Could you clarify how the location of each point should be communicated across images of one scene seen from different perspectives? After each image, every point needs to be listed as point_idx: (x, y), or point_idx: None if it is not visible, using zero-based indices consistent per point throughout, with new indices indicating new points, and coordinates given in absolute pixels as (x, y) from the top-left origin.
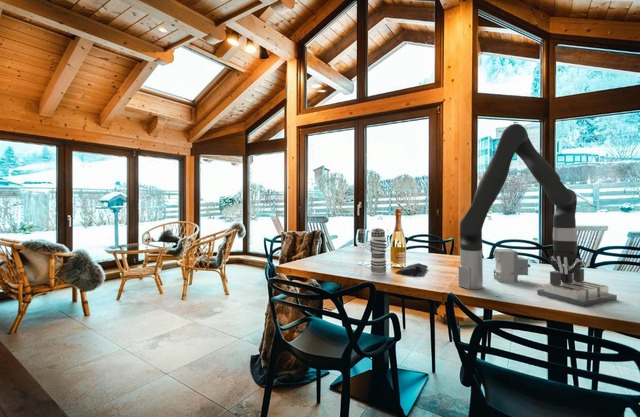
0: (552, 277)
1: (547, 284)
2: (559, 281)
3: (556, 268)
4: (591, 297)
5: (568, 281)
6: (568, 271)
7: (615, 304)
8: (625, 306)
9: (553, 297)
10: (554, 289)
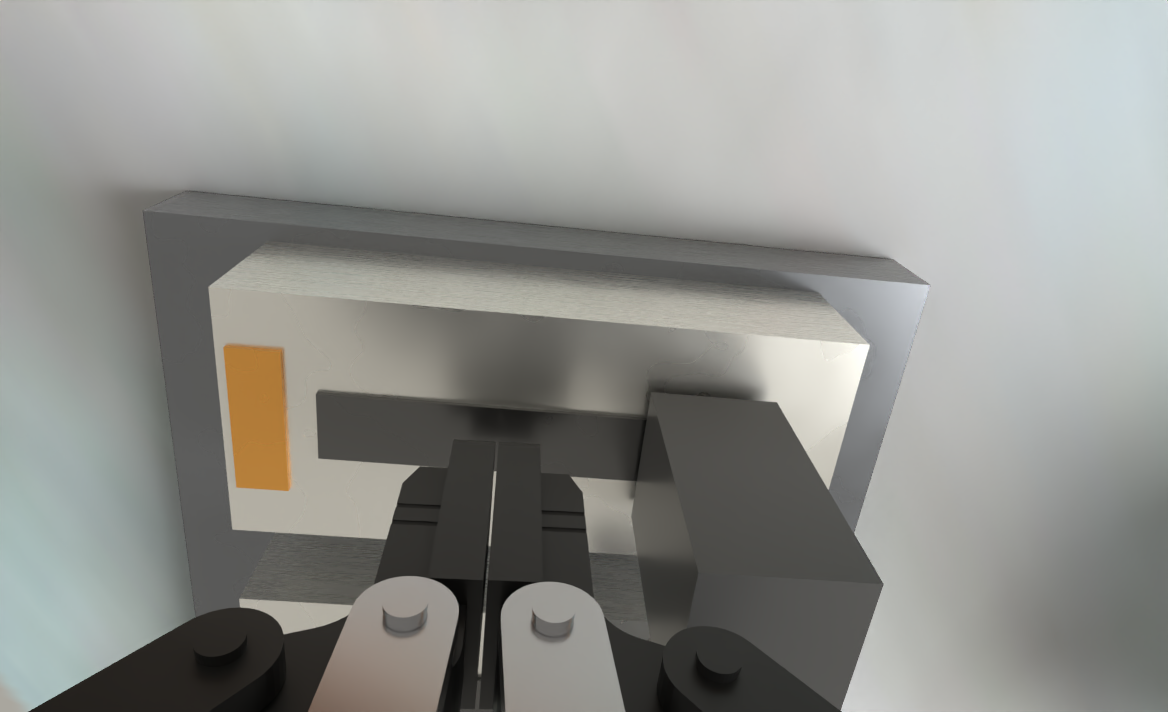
0: (769, 485)
1: (810, 364)
2: (646, 520)
3: (729, 699)
4: (263, 534)
5: (406, 479)
6: (333, 674)
7: (143, 635)
8: (54, 645)
9: (641, 242)
10: (647, 303)
